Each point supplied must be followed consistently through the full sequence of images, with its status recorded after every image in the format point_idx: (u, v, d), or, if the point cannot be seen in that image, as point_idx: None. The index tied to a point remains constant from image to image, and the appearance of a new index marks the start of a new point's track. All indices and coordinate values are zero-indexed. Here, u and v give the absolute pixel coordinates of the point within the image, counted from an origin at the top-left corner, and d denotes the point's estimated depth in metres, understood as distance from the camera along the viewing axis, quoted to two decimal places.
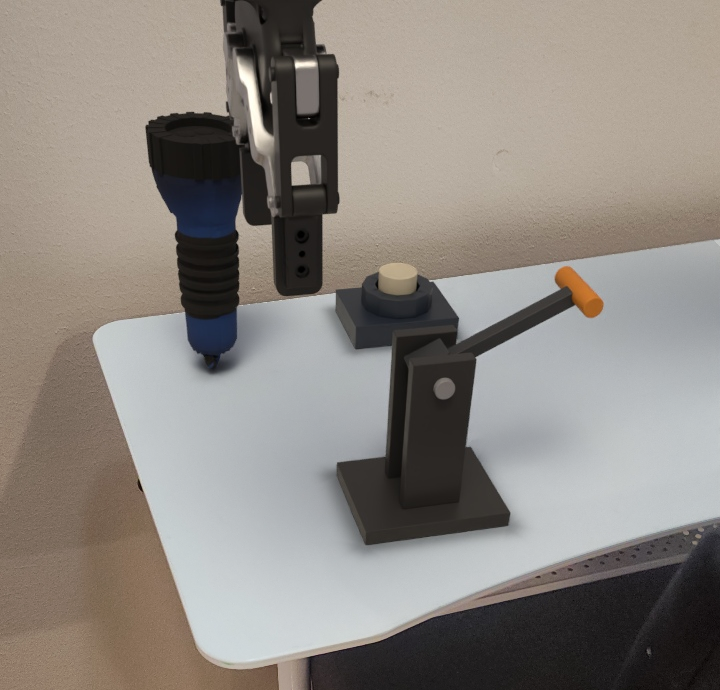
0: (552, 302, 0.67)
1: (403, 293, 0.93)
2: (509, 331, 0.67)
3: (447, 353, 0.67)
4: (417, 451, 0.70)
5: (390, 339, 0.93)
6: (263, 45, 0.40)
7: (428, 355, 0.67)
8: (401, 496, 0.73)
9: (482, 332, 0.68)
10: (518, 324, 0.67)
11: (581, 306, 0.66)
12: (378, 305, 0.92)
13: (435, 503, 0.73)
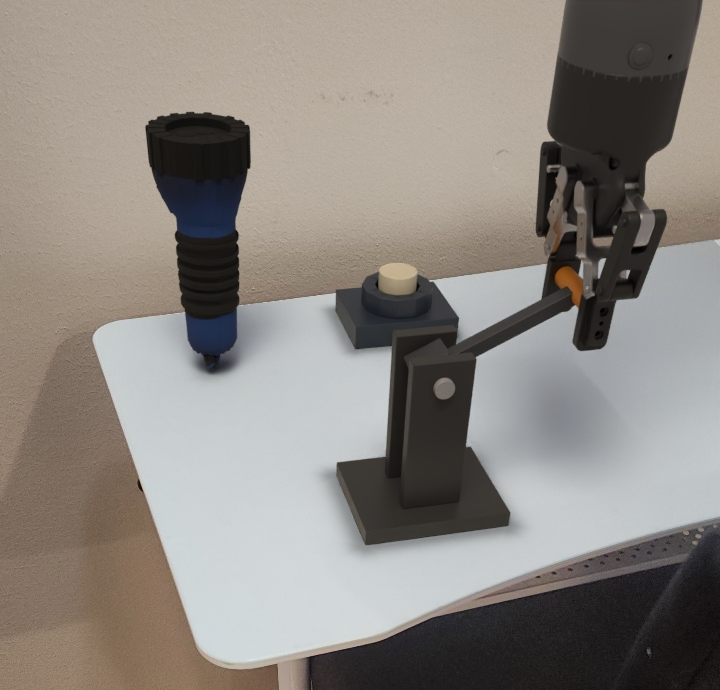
0: (552, 302, 0.67)
1: (403, 293, 0.93)
2: (509, 331, 0.67)
3: (447, 353, 0.67)
4: (417, 451, 0.70)
5: (390, 339, 0.93)
6: (610, 183, 0.59)
7: (428, 355, 0.67)
8: (401, 496, 0.73)
9: (482, 332, 0.68)
10: (518, 324, 0.67)
11: None
12: (378, 305, 0.92)
13: (435, 503, 0.73)
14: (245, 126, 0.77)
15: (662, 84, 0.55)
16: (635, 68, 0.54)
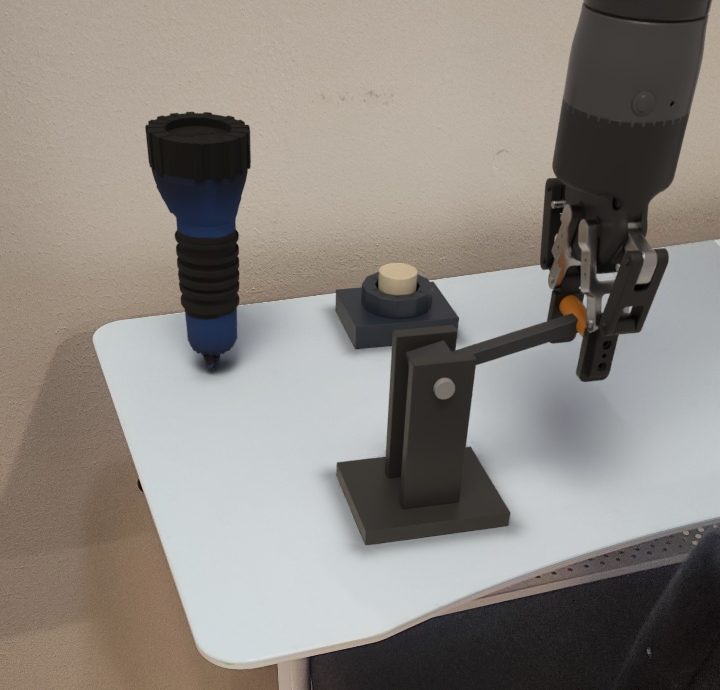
0: (557, 325, 0.68)
1: (403, 293, 0.93)
2: (512, 346, 0.68)
3: None
4: (417, 451, 0.70)
5: (390, 339, 0.93)
6: (614, 223, 0.61)
7: (431, 354, 0.67)
8: (401, 496, 0.73)
9: (486, 342, 0.68)
10: (523, 340, 0.68)
11: None
12: (378, 305, 0.92)
13: (435, 503, 0.73)
14: (245, 126, 0.77)
15: (664, 129, 0.57)
16: (638, 114, 0.56)
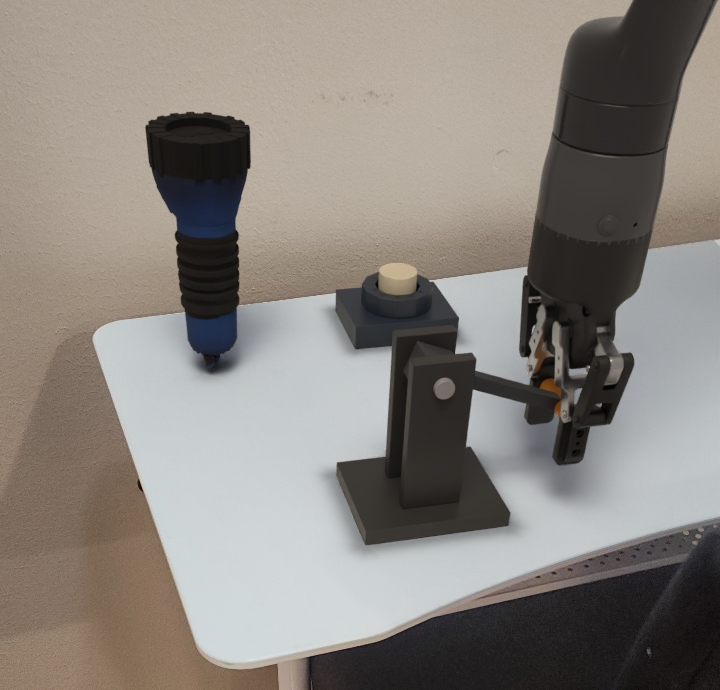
0: (544, 394, 0.72)
1: (403, 293, 0.93)
2: (504, 389, 0.70)
3: None
4: (417, 451, 0.70)
5: (390, 339, 0.93)
6: (584, 328, 0.65)
7: (441, 354, 0.68)
8: (401, 496, 0.73)
9: (484, 374, 0.70)
10: (514, 389, 0.71)
11: None
12: (378, 305, 0.92)
13: (435, 503, 0.73)
14: (245, 126, 0.77)
15: (629, 246, 0.62)
16: (604, 235, 0.61)
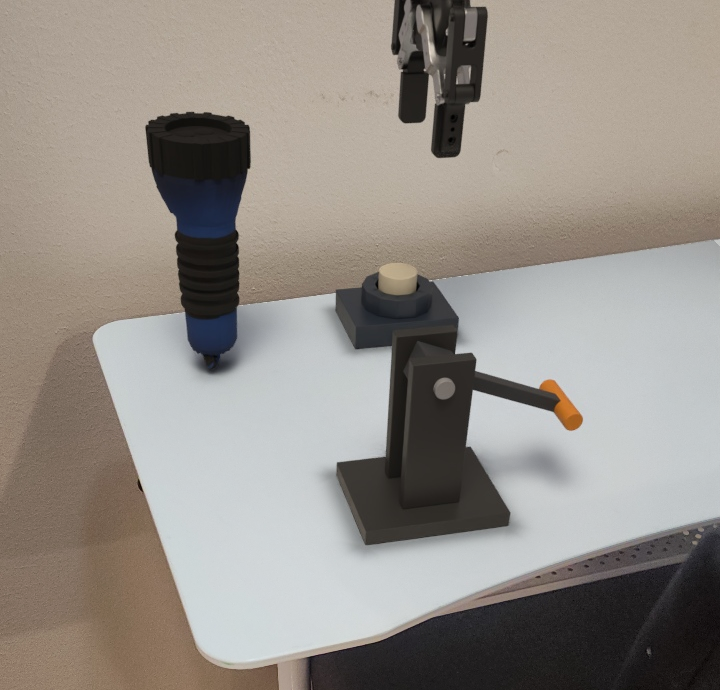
0: (544, 395, 0.72)
1: (403, 293, 0.93)
2: (503, 390, 0.70)
3: None
4: (417, 451, 0.70)
5: (390, 339, 0.93)
6: (441, 2, 0.71)
7: (441, 354, 0.68)
8: (401, 496, 0.73)
9: (484, 374, 0.70)
10: (513, 390, 0.71)
11: (566, 414, 0.71)
12: (378, 305, 0.92)
13: (435, 503, 0.73)
14: (245, 126, 0.77)
15: None
16: None
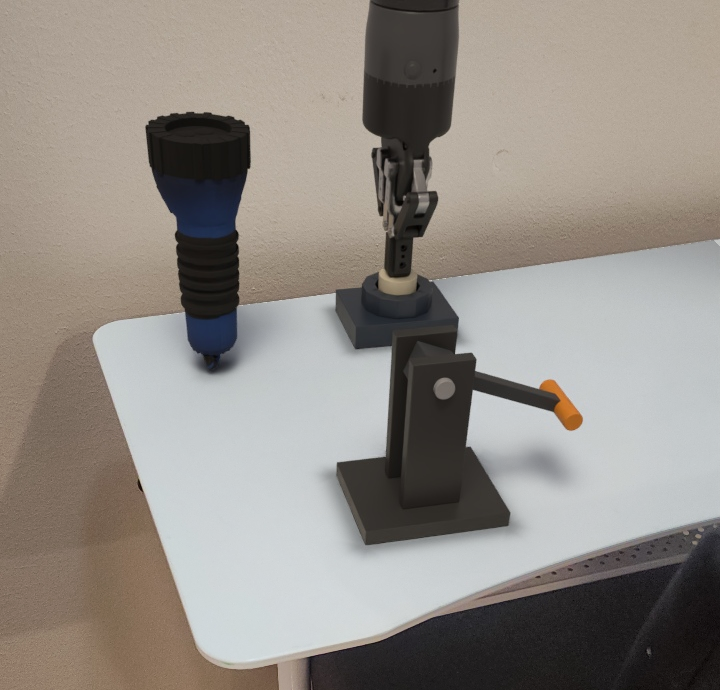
0: (544, 395, 0.72)
1: None
2: (503, 390, 0.70)
3: None
4: (417, 451, 0.70)
5: (390, 339, 0.93)
6: (404, 160, 0.83)
7: (441, 354, 0.68)
8: (401, 496, 0.73)
9: (484, 374, 0.70)
10: (513, 390, 0.71)
11: (566, 414, 0.71)
12: (378, 305, 0.92)
13: (435, 503, 0.73)
14: (245, 126, 0.77)
15: (432, 89, 0.79)
16: (410, 78, 0.78)
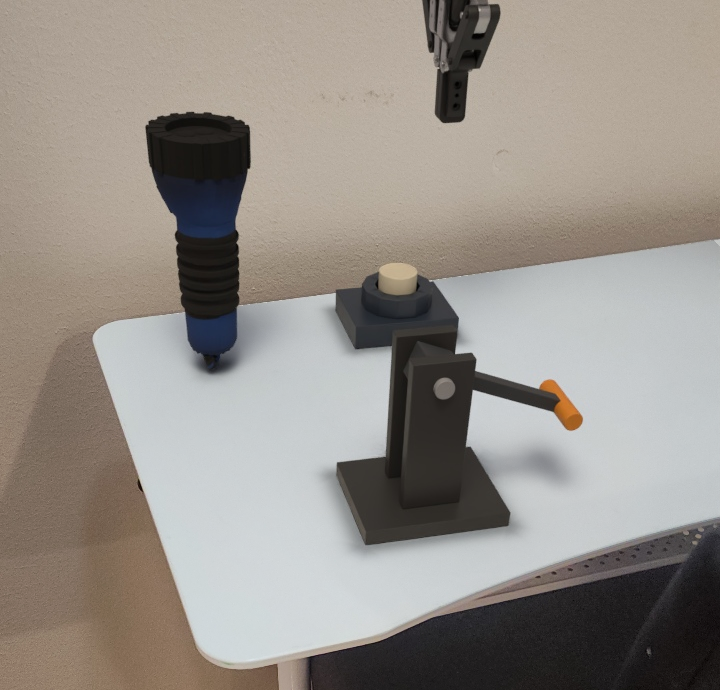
0: (544, 395, 0.72)
1: (403, 293, 0.93)
2: (503, 390, 0.70)
3: None
4: (417, 451, 0.70)
5: (390, 339, 0.93)
6: None
7: (441, 354, 0.68)
8: (401, 496, 0.73)
9: (484, 374, 0.70)
10: (513, 390, 0.71)
11: (566, 414, 0.71)
12: (378, 305, 0.92)
13: (435, 503, 0.73)
14: (245, 126, 0.77)
15: None
16: None
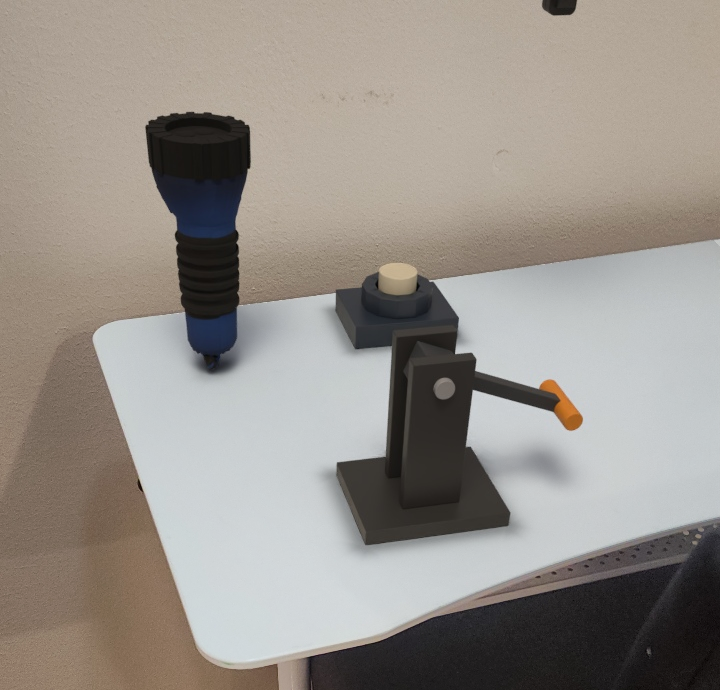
0: (544, 395, 0.72)
1: (403, 293, 0.93)
2: (503, 390, 0.70)
3: None
4: (417, 451, 0.70)
5: (390, 339, 0.93)
6: None
7: (441, 354, 0.68)
8: (401, 496, 0.73)
9: (484, 374, 0.70)
10: (513, 390, 0.71)
11: (566, 414, 0.71)
12: (378, 305, 0.92)
13: (435, 503, 0.73)
14: (245, 126, 0.77)
15: None
16: None
